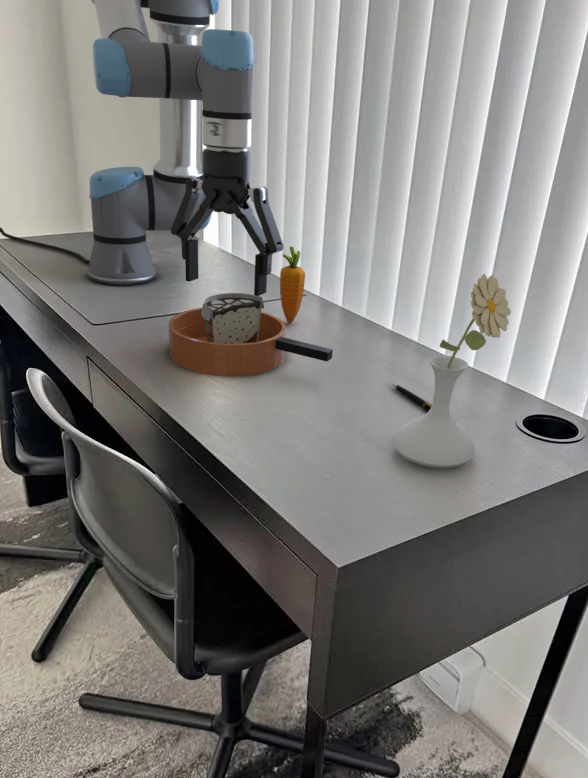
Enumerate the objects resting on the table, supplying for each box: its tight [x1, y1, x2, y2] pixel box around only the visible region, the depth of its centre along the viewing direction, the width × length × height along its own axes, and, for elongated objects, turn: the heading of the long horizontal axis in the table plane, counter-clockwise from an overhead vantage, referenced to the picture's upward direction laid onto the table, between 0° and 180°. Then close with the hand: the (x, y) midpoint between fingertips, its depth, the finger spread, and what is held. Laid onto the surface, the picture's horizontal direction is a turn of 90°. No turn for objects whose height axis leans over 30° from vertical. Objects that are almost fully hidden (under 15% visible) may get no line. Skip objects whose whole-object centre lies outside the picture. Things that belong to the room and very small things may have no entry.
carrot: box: [279, 246, 306, 324], centre depth 139 cm, size 5×5×15 cm
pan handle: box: [275, 337, 334, 362], centre depth 118 cm, size 10×2×2 cm, turn 62°
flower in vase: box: [391, 273, 512, 469], centre depth 92 cm, size 13×11×25 cm
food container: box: [201, 292, 265, 344], centre depth 123 cm, size 12×6×10 cm, turn 135°
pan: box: [168, 307, 287, 377], centre depth 125 cm, size 20×20×6 cm
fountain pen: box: [392, 383, 432, 413], centre depth 113 cm, size 14×1×2 cm, turn 29°
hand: (225, 286), depth 119 cm, fingers open, 13 cm apart
